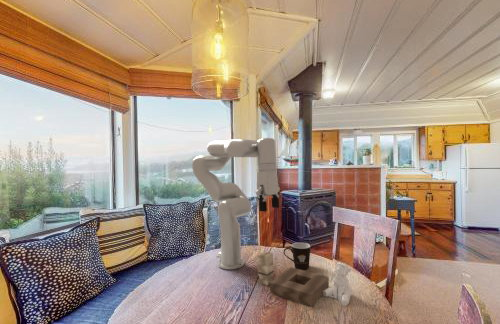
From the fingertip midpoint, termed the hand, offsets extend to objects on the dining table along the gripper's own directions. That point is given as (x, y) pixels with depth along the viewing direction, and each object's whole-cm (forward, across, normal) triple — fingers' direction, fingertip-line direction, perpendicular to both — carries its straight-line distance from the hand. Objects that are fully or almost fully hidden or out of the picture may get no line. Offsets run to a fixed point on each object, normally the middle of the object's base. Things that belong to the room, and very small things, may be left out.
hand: (269, 209), depth 102 cm
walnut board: (+29, +1, +12) cm, 32 cm away
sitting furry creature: (+30, -2, +26) cm, 40 cm away
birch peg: (+29, +3, -2) cm, 29 cm away
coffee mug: (+29, -18, +3) cm, 34 cm away
